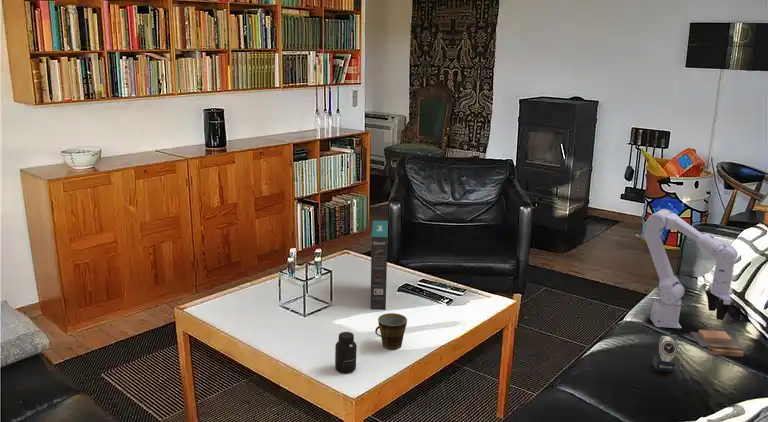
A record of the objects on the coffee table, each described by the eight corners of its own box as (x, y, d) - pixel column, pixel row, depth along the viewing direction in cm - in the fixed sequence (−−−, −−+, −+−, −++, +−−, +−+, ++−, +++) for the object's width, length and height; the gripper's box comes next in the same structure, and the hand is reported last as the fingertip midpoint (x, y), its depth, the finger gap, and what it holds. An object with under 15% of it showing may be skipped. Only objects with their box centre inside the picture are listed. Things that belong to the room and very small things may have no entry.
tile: (705, 337, 225) (699, 329, 231) (704, 340, 226) (698, 333, 232) (731, 338, 224) (724, 331, 230) (730, 342, 225) (724, 335, 231)
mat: (700, 346, 222) (701, 345, 222) (690, 333, 233) (690, 332, 233) (742, 350, 221) (742, 348, 220) (730, 335, 231) (730, 334, 231)
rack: (712, 354, 217) (713, 350, 216) (707, 348, 221) (708, 344, 221) (743, 356, 216) (743, 352, 215) (737, 350, 220) (738, 346, 220)
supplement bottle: (348, 376, 198) (348, 341, 195) (330, 370, 201) (330, 336, 198) (360, 367, 203) (360, 333, 200) (343, 361, 207) (343, 328, 204)
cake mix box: (385, 309, 247) (387, 237, 239) (370, 309, 247) (371, 236, 239) (386, 288, 268) (387, 220, 260) (372, 288, 268) (373, 220, 260)
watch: (657, 373, 203) (662, 342, 201) (651, 361, 211) (655, 331, 208) (675, 375, 203) (680, 344, 200) (668, 363, 210) (673, 333, 207)
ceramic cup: (391, 336, 225) (392, 310, 222) (412, 346, 218) (413, 319, 216) (365, 347, 216) (365, 321, 214) (385, 358, 209) (386, 331, 207)
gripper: (742, 288, 217) (735, 324, 220) (725, 273, 230) (719, 307, 234) (721, 287, 217) (714, 322, 221) (705, 272, 231) (699, 306, 235)
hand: (715, 314), depth 228 cm, fingers open, 7 cm apart
